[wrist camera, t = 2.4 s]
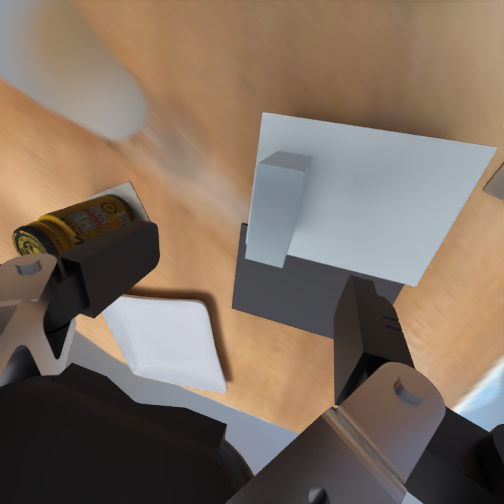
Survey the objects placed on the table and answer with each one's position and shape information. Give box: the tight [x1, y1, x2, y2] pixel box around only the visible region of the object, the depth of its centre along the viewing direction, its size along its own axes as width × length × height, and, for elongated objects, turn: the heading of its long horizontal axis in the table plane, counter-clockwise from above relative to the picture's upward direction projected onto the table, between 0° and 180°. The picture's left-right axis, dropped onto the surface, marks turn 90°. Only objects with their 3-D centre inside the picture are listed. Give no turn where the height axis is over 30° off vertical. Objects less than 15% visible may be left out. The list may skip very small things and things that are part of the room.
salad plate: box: [101, 294, 227, 393], centre depth 44 cm, size 21×21×3 cm
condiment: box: [12, 182, 150, 257], centre depth 30 cm, size 7×8×12 cm
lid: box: [245, 112, 498, 287], centre depth 17 cm, size 15×11×8 cm
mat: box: [232, 223, 404, 339], centre depth 32 cm, size 14×20×1 cm
